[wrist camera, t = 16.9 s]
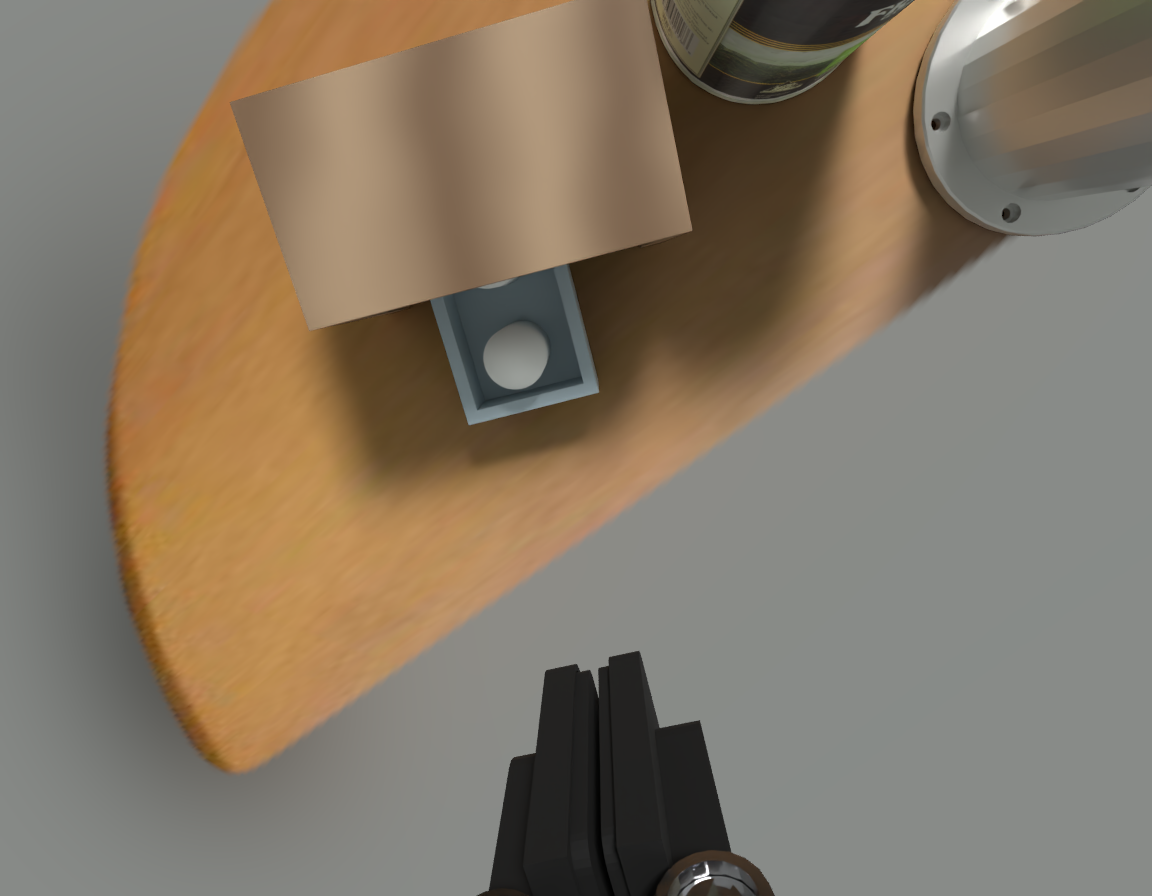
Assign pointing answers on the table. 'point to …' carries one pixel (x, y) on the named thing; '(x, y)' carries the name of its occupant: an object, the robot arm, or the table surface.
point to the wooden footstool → (468, 160)
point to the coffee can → (766, 42)
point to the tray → (485, 322)
